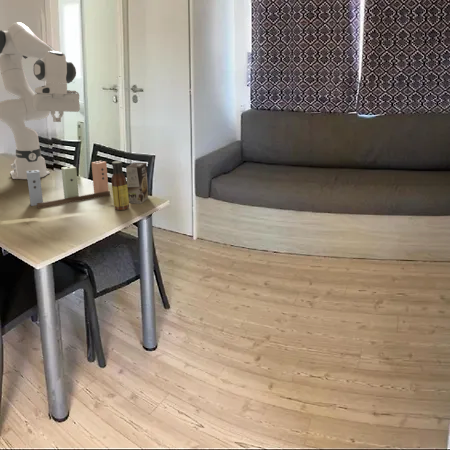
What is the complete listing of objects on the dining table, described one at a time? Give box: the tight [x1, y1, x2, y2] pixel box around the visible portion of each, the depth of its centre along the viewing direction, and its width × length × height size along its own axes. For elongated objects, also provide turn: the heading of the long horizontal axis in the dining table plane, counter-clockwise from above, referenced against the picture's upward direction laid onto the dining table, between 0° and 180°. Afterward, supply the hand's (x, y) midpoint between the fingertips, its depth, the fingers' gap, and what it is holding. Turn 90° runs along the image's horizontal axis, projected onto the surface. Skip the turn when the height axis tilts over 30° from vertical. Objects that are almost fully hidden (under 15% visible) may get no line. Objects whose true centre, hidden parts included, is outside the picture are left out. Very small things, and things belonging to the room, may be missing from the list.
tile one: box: [61, 165, 80, 199], centre depth 237 cm, size 4×5×14 cm
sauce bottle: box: [110, 160, 130, 211], centre depth 227 cm, size 6×6×20 cm
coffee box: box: [125, 162, 149, 205], centre depth 238 cm, size 9×6×16 cm
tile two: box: [26, 170, 44, 207], centre depth 230 cm, size 4×5×14 cm
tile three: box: [91, 160, 110, 194], centre depth 246 cm, size 4×5×14 cm
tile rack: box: [36, 190, 111, 209], centre depth 241 cm, size 14×35×3 cm, turn 126°
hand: (57, 121), depth 245 cm, fingers closed
